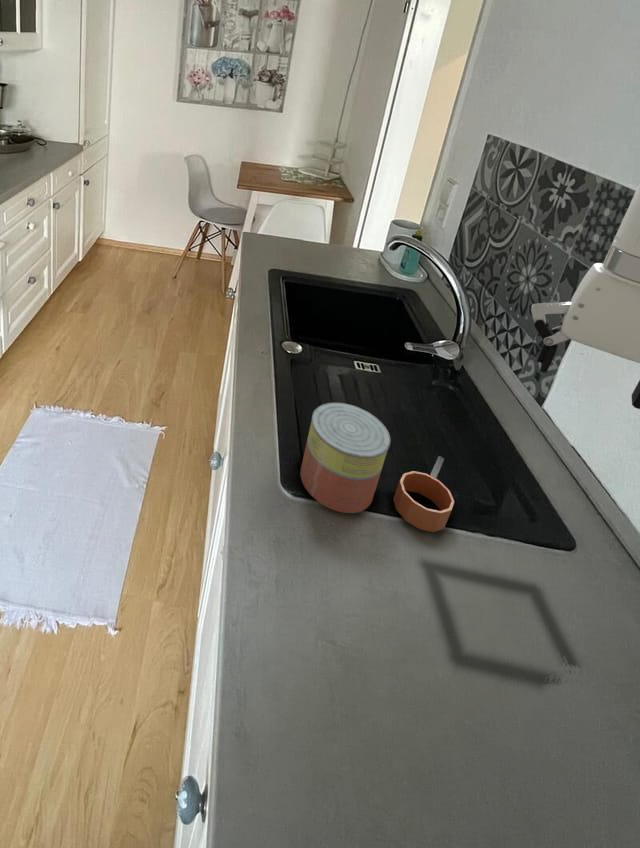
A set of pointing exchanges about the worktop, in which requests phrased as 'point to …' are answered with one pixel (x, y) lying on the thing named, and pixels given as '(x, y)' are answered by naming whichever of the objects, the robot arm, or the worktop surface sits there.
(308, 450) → the canned food
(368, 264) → the worktop surface
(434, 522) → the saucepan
